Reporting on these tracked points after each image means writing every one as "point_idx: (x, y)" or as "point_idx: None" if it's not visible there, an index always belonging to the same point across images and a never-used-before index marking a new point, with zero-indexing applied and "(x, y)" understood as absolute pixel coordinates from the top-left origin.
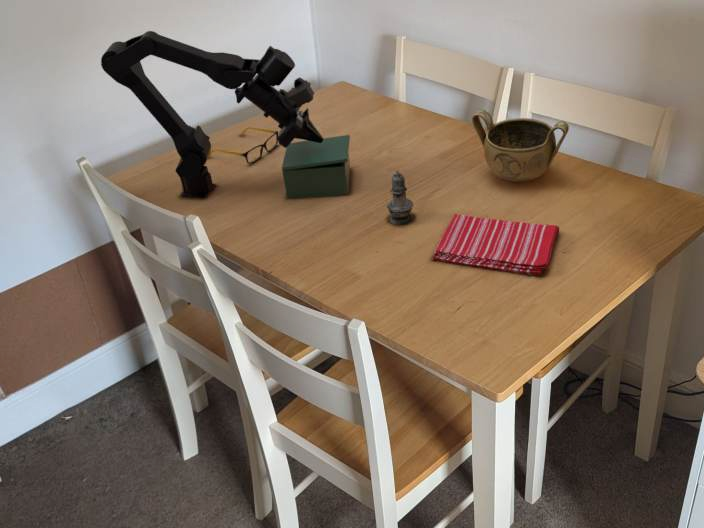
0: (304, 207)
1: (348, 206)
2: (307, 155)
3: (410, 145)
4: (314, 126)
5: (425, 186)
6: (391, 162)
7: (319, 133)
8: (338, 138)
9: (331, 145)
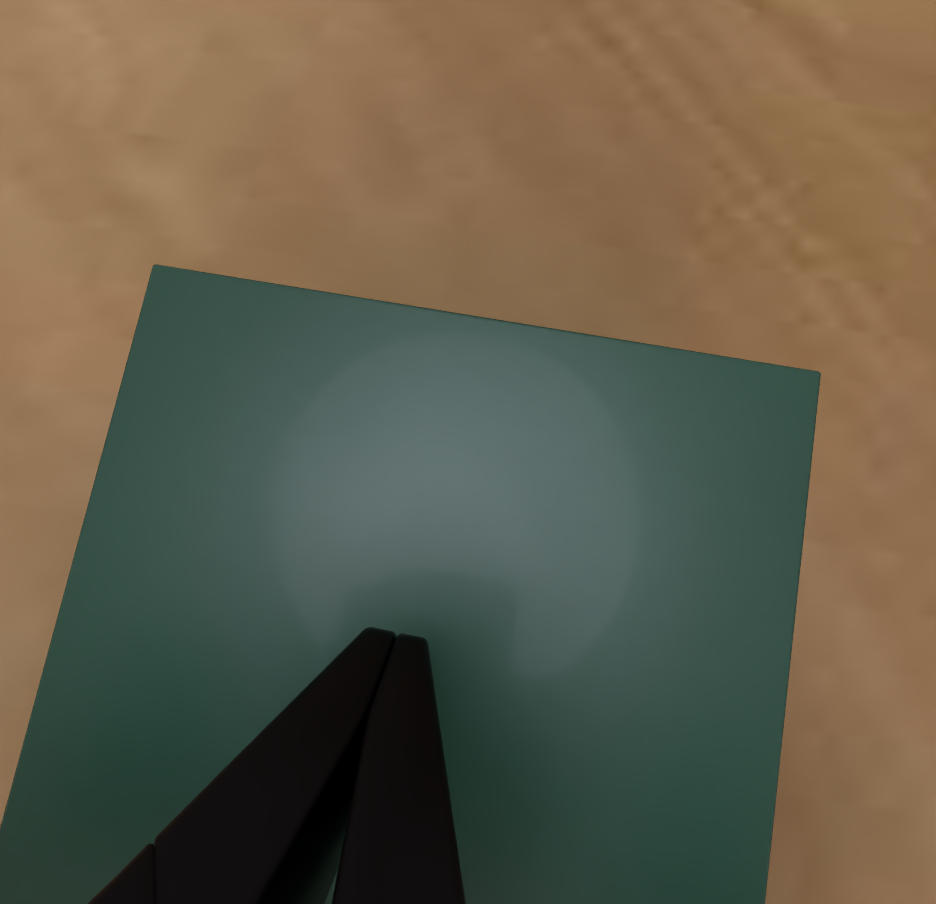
0: (789, 865)
1: (837, 512)
2: (476, 896)
3: (115, 24)
4: (144, 851)
5: (674, 28)
6: (295, 158)
7: (311, 703)
8: (183, 405)
9: (339, 518)
